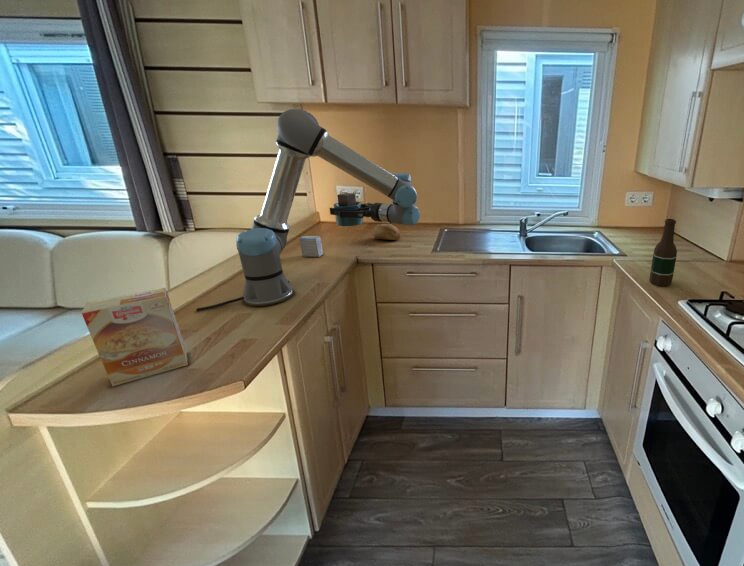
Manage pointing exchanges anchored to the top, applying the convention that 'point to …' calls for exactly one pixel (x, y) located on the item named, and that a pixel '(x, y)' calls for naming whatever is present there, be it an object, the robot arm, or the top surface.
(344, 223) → the teal blue cylinder
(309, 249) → the medicine box
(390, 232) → the bread roll
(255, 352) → the top surface
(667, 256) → the beer bottle
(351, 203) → the block
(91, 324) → the coffeecake box
